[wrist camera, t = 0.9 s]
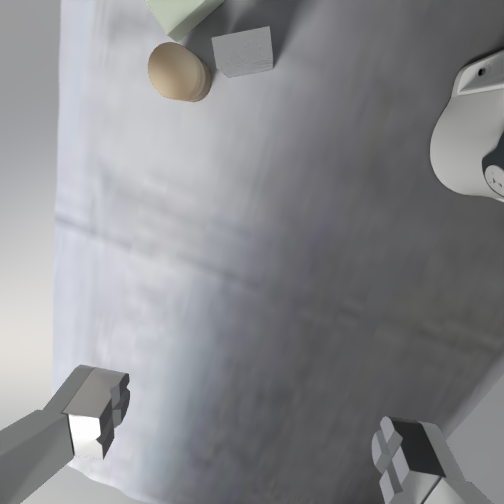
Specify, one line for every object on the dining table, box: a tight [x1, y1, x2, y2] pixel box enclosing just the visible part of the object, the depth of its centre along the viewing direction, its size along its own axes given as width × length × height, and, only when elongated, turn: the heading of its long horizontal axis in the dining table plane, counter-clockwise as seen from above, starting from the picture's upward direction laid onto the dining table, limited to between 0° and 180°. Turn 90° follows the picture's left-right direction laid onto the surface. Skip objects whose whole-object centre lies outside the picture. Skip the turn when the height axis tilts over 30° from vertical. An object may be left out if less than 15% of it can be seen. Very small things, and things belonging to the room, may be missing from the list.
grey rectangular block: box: [211, 26, 273, 78], centre depth 33 cm, size 2×6×9 cm, turn 99°
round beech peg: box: [148, 42, 211, 102], centre depth 35 cm, size 5×5×8 cm
